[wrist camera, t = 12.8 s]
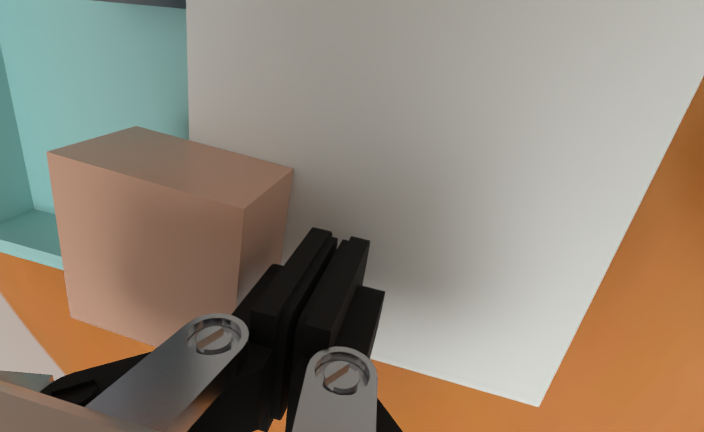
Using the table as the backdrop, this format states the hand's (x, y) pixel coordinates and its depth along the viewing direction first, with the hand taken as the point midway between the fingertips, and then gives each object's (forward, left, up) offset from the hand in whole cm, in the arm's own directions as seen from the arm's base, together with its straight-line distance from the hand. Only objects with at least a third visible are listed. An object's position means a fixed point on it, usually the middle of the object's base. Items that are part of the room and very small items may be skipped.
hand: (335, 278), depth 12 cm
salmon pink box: (+4, 0, -1) cm, 4 cm away
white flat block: (-1, -5, -4) cm, 6 cm away
